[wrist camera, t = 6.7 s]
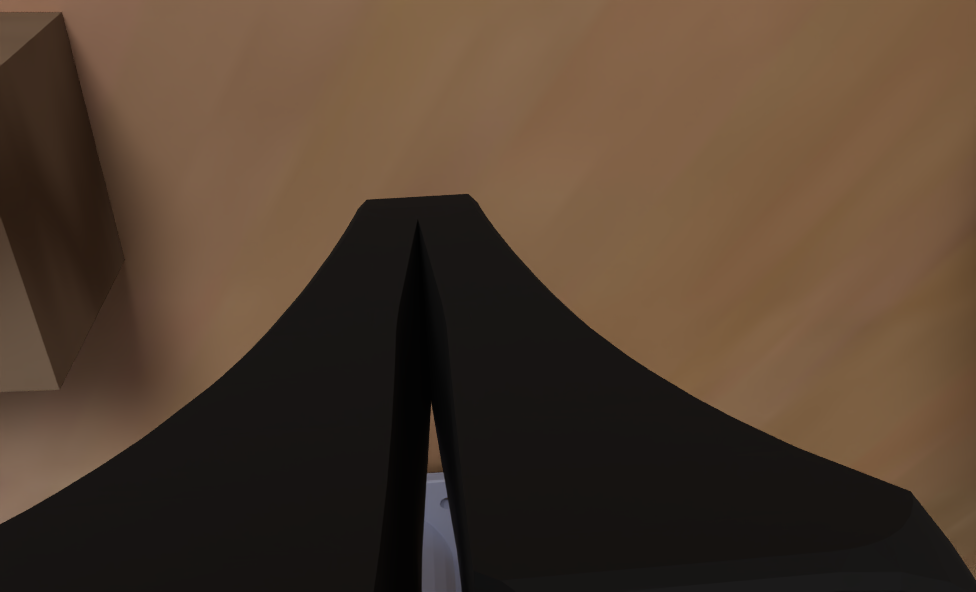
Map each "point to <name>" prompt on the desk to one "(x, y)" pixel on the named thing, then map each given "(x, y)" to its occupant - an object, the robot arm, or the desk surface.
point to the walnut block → (48, 207)
